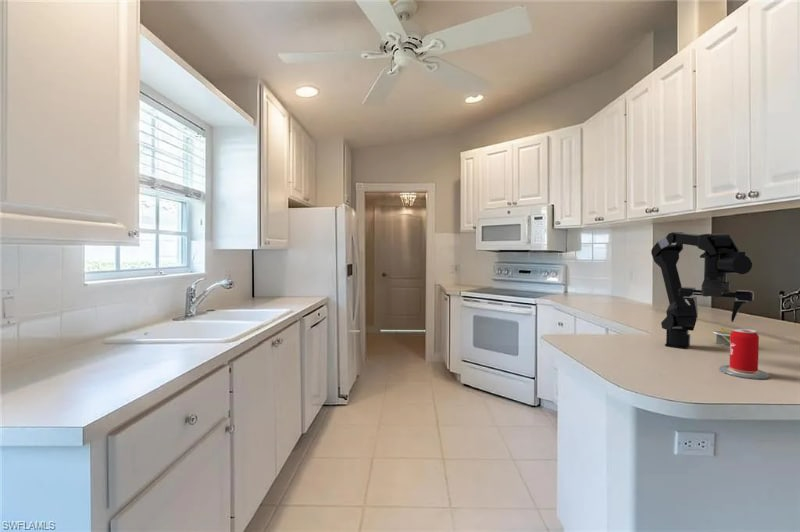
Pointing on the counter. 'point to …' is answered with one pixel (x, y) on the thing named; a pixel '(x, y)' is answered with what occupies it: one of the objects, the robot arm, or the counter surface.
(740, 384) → the counter surface
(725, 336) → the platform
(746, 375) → the slate coaster
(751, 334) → the beverage can
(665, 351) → the counter surface
